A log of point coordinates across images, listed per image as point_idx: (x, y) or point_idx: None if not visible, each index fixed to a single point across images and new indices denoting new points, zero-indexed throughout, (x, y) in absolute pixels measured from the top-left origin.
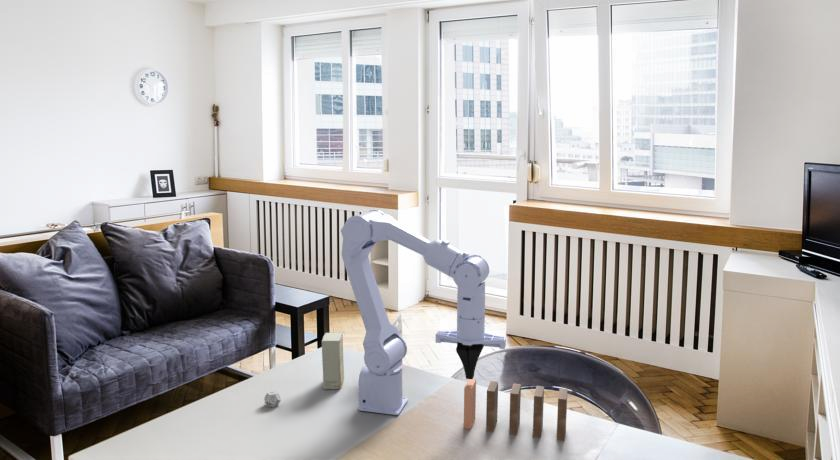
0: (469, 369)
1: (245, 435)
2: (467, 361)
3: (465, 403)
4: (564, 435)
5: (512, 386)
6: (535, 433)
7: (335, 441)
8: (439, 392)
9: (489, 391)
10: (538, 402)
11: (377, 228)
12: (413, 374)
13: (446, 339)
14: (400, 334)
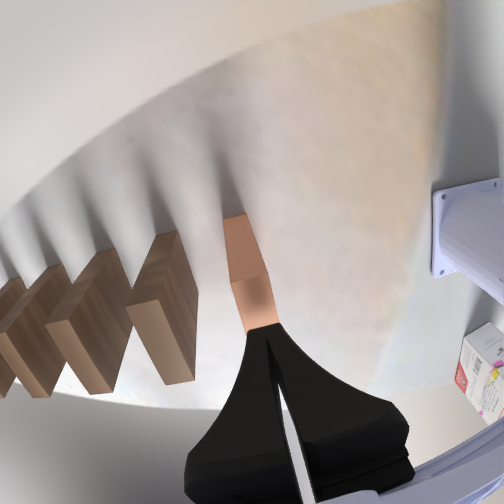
0: (266, 356)
1: None
2: (288, 388)
3: (251, 244)
4: (2, 287)
5: (98, 371)
6: (52, 270)
7: (480, 35)
8: (374, 348)
9: (146, 300)
10: (6, 321)
11: None
12: (435, 373)
13: (486, 448)
14: (495, 420)
